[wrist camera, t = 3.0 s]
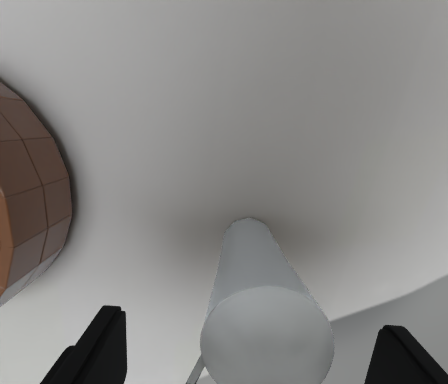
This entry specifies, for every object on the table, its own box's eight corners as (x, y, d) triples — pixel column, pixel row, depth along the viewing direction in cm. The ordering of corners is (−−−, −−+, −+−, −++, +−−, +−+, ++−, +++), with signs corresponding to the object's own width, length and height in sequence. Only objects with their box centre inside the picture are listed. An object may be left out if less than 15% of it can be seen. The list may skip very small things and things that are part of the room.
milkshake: (193, 218, 16) (140, 364, 6) (275, 200, 15) (356, 326, 6) (210, 278, 17) (188, 480, 7) (287, 263, 17) (371, 455, 7)
